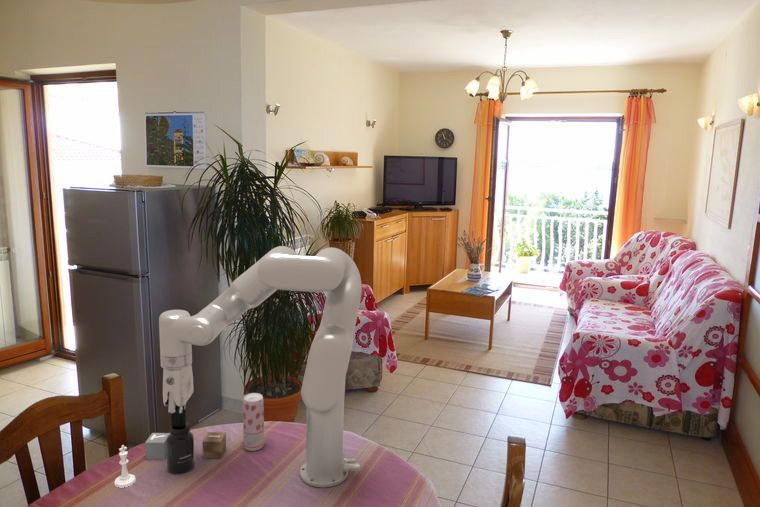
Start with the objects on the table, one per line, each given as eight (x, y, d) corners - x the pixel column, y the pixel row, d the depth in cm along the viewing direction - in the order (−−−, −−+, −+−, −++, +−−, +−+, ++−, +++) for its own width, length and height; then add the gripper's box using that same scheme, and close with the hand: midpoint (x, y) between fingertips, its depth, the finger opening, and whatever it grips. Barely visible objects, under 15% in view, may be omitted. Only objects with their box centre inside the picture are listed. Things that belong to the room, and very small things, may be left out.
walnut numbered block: (226, 448, 155) (225, 431, 154) (221, 458, 150) (221, 441, 149) (208, 448, 155) (207, 431, 154) (203, 458, 150) (202, 440, 149)
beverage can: (240, 450, 154) (239, 400, 151) (247, 439, 160) (247, 391, 157) (260, 452, 153) (259, 402, 151) (266, 441, 159) (266, 393, 156)
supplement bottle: (185, 476, 141) (184, 433, 139) (161, 472, 143) (159, 429, 140) (199, 461, 148) (198, 420, 146) (176, 458, 149) (174, 417, 147)
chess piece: (111, 480, 138) (109, 444, 137) (132, 474, 142) (130, 438, 140) (117, 490, 135) (115, 453, 133) (138, 483, 138) (136, 446, 136)
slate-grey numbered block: (171, 449, 153) (170, 432, 152) (164, 459, 149) (163, 442, 148) (153, 449, 153) (152, 432, 152) (146, 459, 148) (145, 441, 147)
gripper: (181, 370, 132) (183, 440, 136) (200, 348, 147) (201, 411, 150) (150, 370, 132) (153, 439, 136) (171, 347, 147) (174, 411, 150)
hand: (178, 425), depth 143 cm, fingers closed
